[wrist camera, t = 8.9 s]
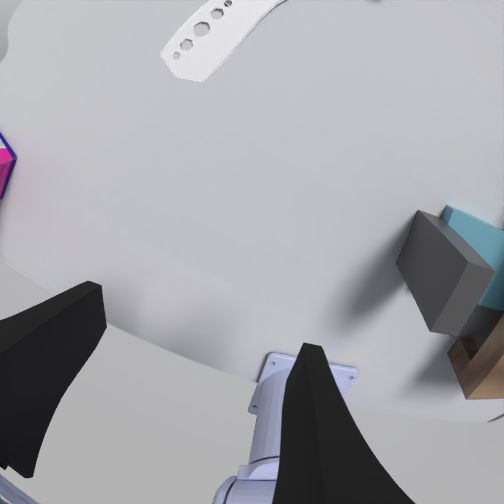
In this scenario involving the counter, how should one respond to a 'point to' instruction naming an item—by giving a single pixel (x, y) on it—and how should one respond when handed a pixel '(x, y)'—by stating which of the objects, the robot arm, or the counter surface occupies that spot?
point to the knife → (213, 36)
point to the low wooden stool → (480, 365)
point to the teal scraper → (453, 267)
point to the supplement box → (5, 163)
